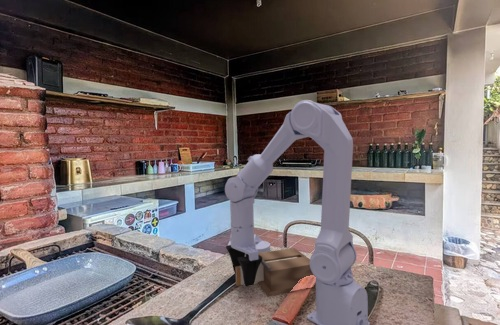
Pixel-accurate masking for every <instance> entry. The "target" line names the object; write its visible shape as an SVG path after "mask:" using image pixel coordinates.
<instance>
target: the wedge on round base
mask: <svg viewBox="0 0 500 325" xmlns="http://www.w3.org/2000/svg"><path fill="white" fill-rule="evenodd" d="M254 239H256V240H258V241H259V243H258V244H256V249H257V251H258V253H263V252H270V251H271V243H270V242H269V241H266V240H263V239H262V238H260V237H259V236H258V235H257V234H255V233H254ZM228 245H231V242H230V240H229V241H228V243H227V245H226V246H228ZM245 257H246V253H245Z"/></svg>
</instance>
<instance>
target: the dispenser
mask: <svg viewBox="0 0 500 325" xmlns="http://www.w3.org/2000/svg"><path fill="white" fill-rule="evenodd" d="M258 255H260V256H261V257H262V262H261V264H262V265H263V266H264V281H260V282H256V283H257V285H258V286H259V287H260V289H261V290H262V291H263V292H264V293H265V295H266V296H267V298H269V297H273V296H278V295H284V294H288V293H291V292H290V291H291V290H292V289H293V287H294V286H295V285H296V284H297V283H298V281H299V280H300V279H302V278H304V277H306V276H310V275H313V273H312V271H311V269H310V258H309V257H307V256H306V255H304V254H303V253H302V252H301V251H299V250H297V249H296V248H294V247H292V248H284V249H278V250H270V252H263V253H258ZM294 257H297V258H294ZM287 258H291V259H287ZM281 259H285V260H281ZM275 260H279V261H275ZM268 261H272V262H268ZM314 288H315V289H316V283H315V285H314V287H313V288H312V289H314Z"/></svg>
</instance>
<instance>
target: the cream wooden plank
mask: <svg viewBox="0 0 500 325" xmlns="http://www.w3.org/2000/svg"><path fill="white" fill-rule="evenodd" d="M294 258H297V257H294ZM287 259H291V258H287ZM281 260H285V259H281ZM275 261H279V260H275ZM268 262H272V261H268ZM235 270H236V274H235V285H236V286H242V285H245V283H244V278H243V272H242V268H241V266H236V267H235ZM260 281H264V266H263V265H262V264H261V263H260V265H259V267H258V270H257V273H256V278H255V282H254V283H257V282H260Z"/></svg>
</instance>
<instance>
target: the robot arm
mask: <svg viewBox="0 0 500 325" xmlns="http://www.w3.org/2000/svg"><path fill="white" fill-rule="evenodd" d="M347 127H348V126H346V123H345V122H344V120H343V117H342V113H340V112H339V111H338V110H336V109H335V108H334V107H333V106H331V105H328V104H322V103H319V102H315V101H313V100H310V99H303V100H300V101H298V102H297V103H296V104H295V105H293V107H292V109H291V111H289V112H288V113H287V114H286V115H285V117H284V121H283V123H282V125H281V126H280V127H279V129H278V130H277V132H276V133H275V134H274V135H273V137H272V139H271V140H270V141H269V143H268V144H267V146H265V148H264V149H263V151H262V152H261V154H259V153H258V154H257V153H256V154H253V155H250V156H249V157H248V158H247V161H248V162H247V163H246V164H245V165H244V167H243V168H242V169H241V170H239V171H238V172H237V175H236V176H234V177H230V178H228V179H227V181H226V183H225V185H224V194H225V196H226V198H227V199H228V200H229V205H230V206H229V207H230V208H229V209H230V235H229V241H230V242H231V245H228V244H227V245H228V246H227V245H226V246H225V249H226V250H227V252H228V254H229V255H228V256H229V257H230V261H231V264H232V268H233V272H234V274H235V275H236V270H235V267H236V266H241V268H242V272H243V278H244V283H245V284H244V285H245V287H250V286H254V285H255V283H256V282H255V278H256V273H257V270H258V267H259V265H260V263H261V262H262V257H261V256H260V255H258V251H257V249H256V244H258V243H259V241H258V240H256V239H254V234H255V225H254V224H255V223H254V221H255V220H254V219H255V217H254V204H255V198H256V196H257V195H258V191H259V187H260V186H261V184H262V183H264V181H265V180H266V179H267V178H268V177H269V176H270V175H271V174H272V173H273V170H274V163H275V162H276V161H277V159H279V158H280V156H282V155H283V153H284V152H286V150H287V149H289V147H291V145H292V144H293V143H295V141H296V140H297V141H298V140H301V139H305V138H311V139H312V140H314V142H315V143H316V144H318V146H320V147H321V148H322V149H323V151H324V152H323V153H324V154H323V170H322V171H323V173H322V174H323V175H322V191H321V192H322V193H321V194H322V196H321V220H320V230H319V232H318V236H317V238H316V240H315V242H314V250H313V252H312V254H311V255H310V258H309V259H310V269H311V271H312V273H313V275H314V276H315V277H316V287H315V310H314V311H312V312H311V313H309V314H308V315H306V319H307V320H309V321H310V322H312V323H314V324H316V325H370V324H371V322H370V321H368V320H369V316H368V314H369V312H368V311H369V310H368V309H369V306H368V304H369V303H368V301H369V299H368V292H367V290H366V289H365V287H363V286H361V285H360V284H359V283H358V282H356V281H355V280H354V275H353V271H352V266H354V264H355V263H356V260H357V251H356V248H355V246H354V241H353V240H354V239H353V238H354V235H353V234H352V233H351V231H350V230H349V226H350V210H351V193H352V192H351V190H352V174H353V173H352V172H353V158H354V157H353V152H354V139H353V137H352V135H351V133H350V131H349V130H348V128H347ZM245 253H246V257H245Z"/></svg>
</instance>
